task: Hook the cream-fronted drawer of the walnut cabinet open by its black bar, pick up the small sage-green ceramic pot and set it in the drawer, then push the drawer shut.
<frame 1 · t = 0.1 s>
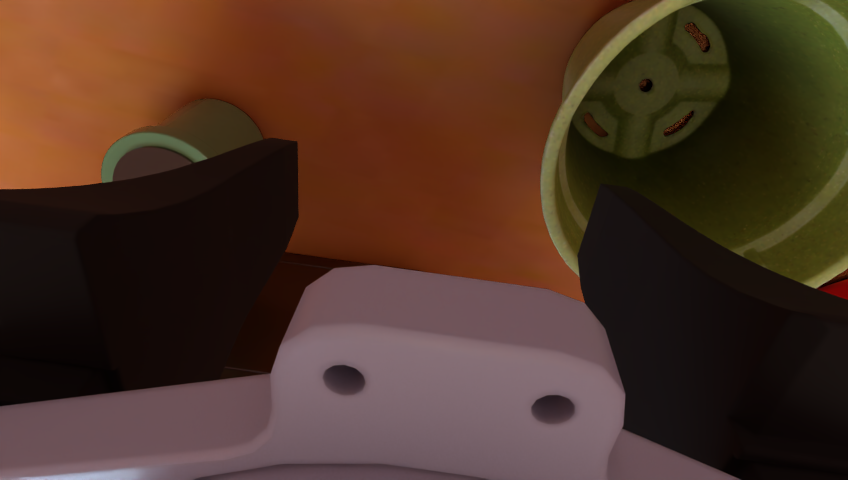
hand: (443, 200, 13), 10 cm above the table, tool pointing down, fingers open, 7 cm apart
green pot: (219, 145, 24), on the table
plant pot: (639, 78, 21), on the table
french fries container: (805, 331, 27), on the table
cabinet: (291, 342, 30), on the table
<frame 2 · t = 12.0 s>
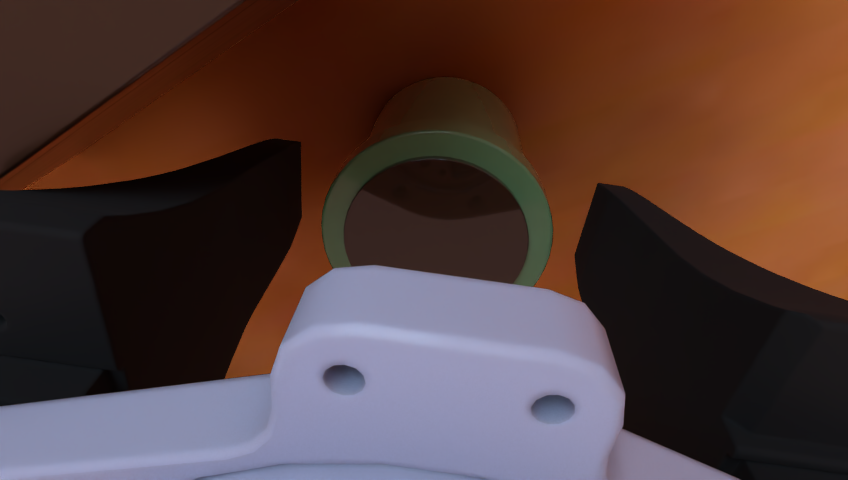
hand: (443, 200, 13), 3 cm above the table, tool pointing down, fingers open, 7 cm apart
green pot: (444, 151, 15), on the table
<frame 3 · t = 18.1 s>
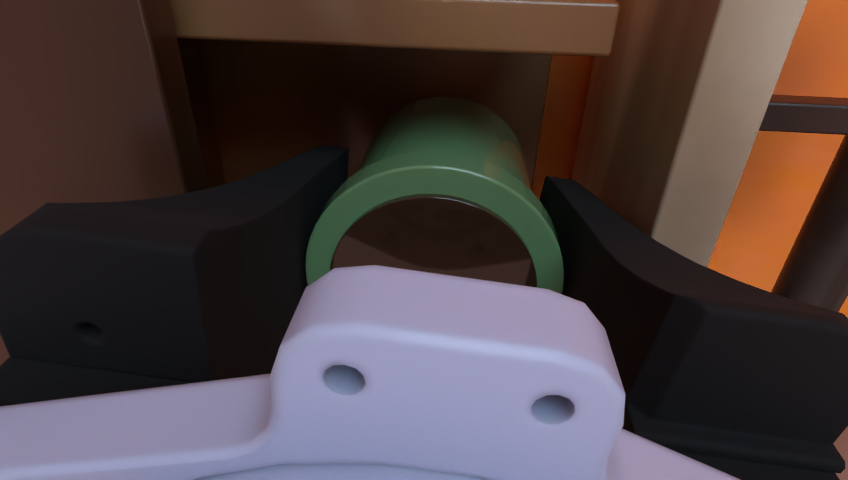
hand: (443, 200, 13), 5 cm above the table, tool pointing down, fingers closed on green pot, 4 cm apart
green pot: (444, 175, 14), point 3 cm above the table, touching gripper
cabinet: (112, 108, 17), on the table
drawer: (490, 189, 13), point 4 cm above the table, slide at 8.0 cm, touching gripper
when the fingers open (5 cm above the table, at t = 20.2 s): green pot drops 2 cm, resting on drawer.
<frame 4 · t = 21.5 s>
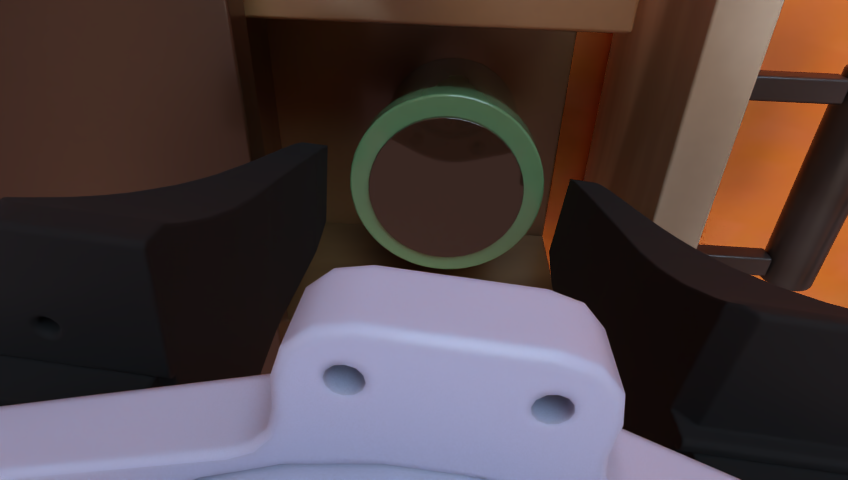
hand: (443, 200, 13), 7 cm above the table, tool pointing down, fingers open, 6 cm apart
green pot: (452, 124, 17), point 2 cm above the table, touching drawer
cabinet: (158, 90, 19), on the table
drawer: (522, 155, 15), point 4 cm above the table, slide at 8.8 cm, touching green pot
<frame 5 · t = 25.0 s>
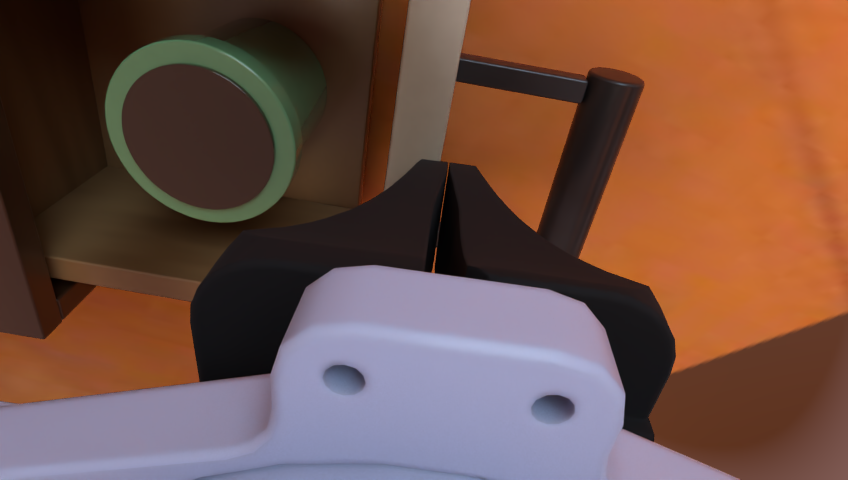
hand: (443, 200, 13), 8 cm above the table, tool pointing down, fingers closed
green pot: (263, 85, 17), point 2 cm above the table, touching drawer
drawer: (308, 121, 15), point 4 cm above the table, slide at 8.8 cm, touching green pot, gripper
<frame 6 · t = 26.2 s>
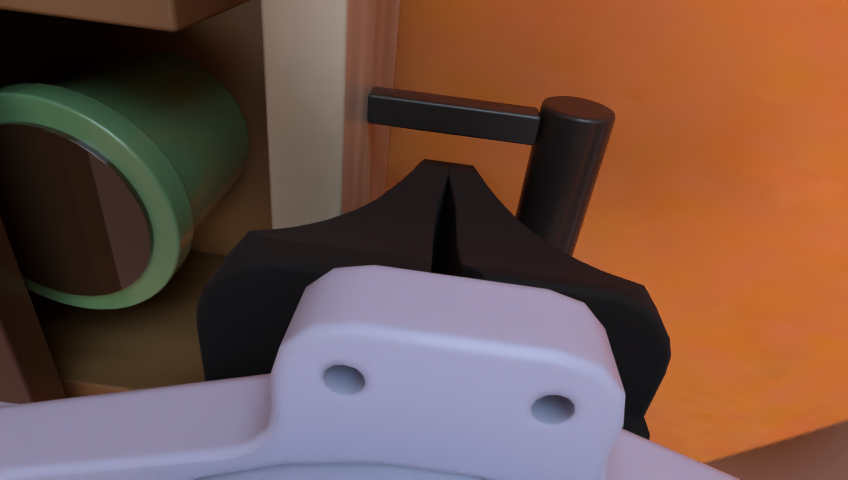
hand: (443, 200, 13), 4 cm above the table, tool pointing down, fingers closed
green pot: (173, 129, 14), point 2 cm above the table, touching drawer
drawer: (205, 174, 13), point 4 cm above the table, slide at 4.7 cm, touching green pot, gripper
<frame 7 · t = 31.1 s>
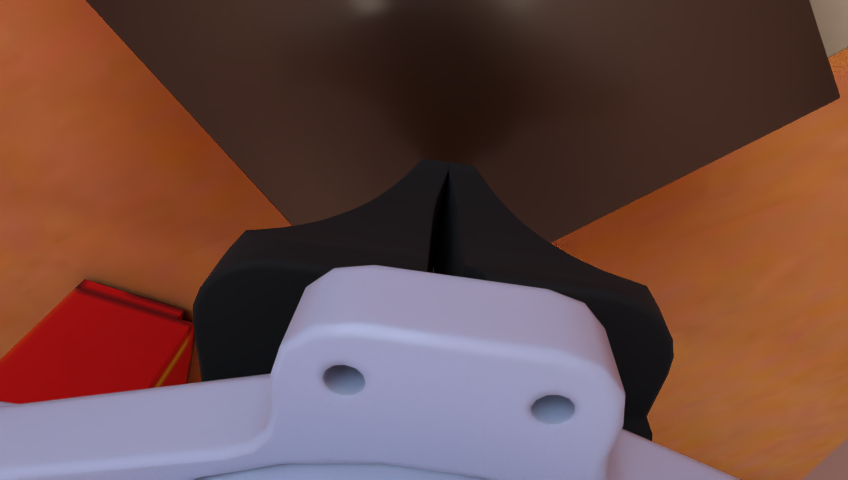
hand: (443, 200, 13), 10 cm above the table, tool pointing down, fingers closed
french fries container: (143, 349, 31), on the table
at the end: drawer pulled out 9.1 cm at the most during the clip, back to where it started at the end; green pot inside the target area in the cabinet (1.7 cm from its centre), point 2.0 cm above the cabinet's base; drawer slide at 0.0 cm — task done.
